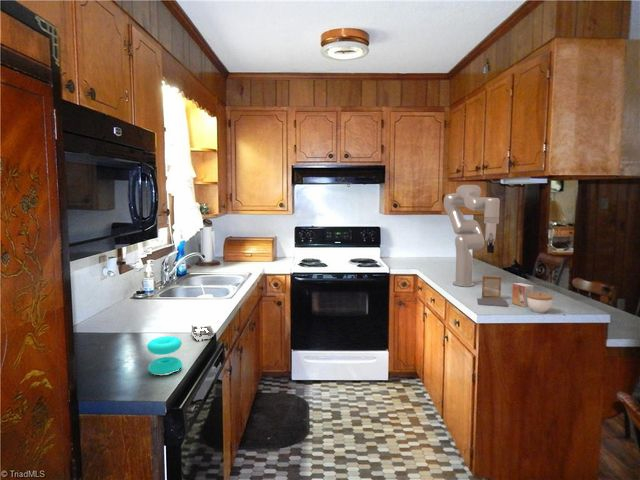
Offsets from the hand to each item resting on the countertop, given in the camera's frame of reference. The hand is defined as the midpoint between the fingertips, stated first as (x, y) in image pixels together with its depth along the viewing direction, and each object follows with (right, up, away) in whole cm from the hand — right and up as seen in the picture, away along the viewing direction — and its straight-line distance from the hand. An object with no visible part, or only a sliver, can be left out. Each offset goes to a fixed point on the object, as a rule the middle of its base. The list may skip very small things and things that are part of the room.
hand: (490, 251), depth 235 cm
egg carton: (-140, -32, -67) cm, 158 cm away
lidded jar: (+10, -28, -32) cm, 43 cm away
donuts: (-142, -35, -101) cm, 178 cm away
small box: (+8, -27, -19) cm, 34 cm away
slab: (-2, -25, -6) cm, 26 cm away
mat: (-5, -26, -15) cm, 31 cm away
